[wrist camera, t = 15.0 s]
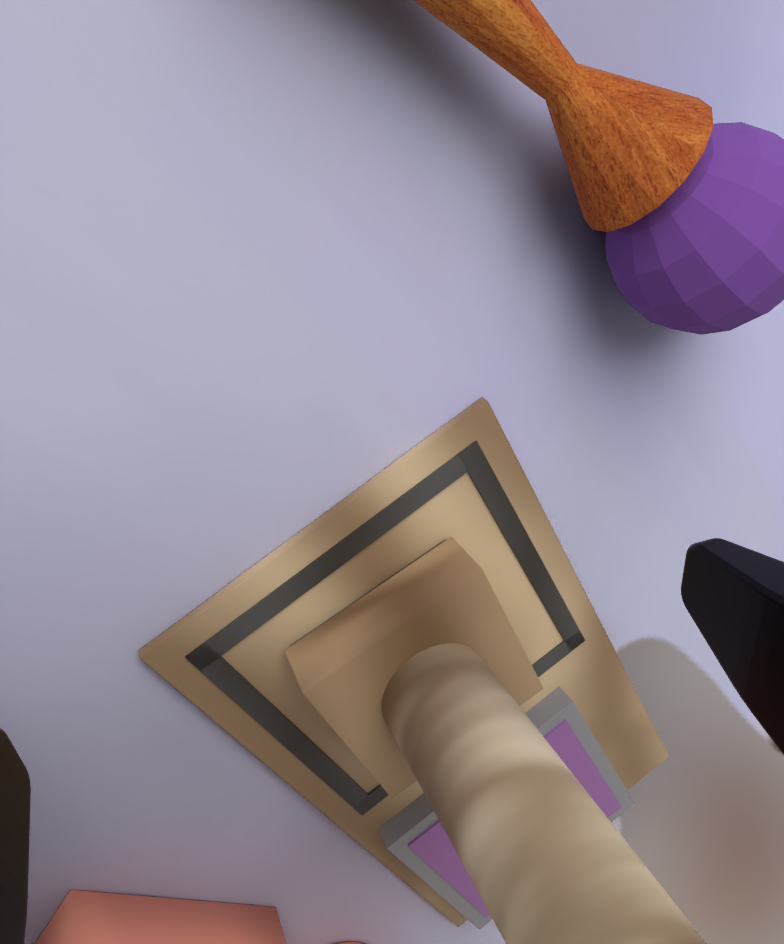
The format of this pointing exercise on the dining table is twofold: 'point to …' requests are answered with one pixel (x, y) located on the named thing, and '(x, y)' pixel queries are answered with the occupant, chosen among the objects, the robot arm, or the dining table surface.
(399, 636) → the stamp
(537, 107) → the dining table surface
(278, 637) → the stamp board
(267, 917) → the pottery
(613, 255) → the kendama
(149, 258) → the dining table surface
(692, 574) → the robot arm
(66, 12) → the dining table surface
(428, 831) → the ink pad
